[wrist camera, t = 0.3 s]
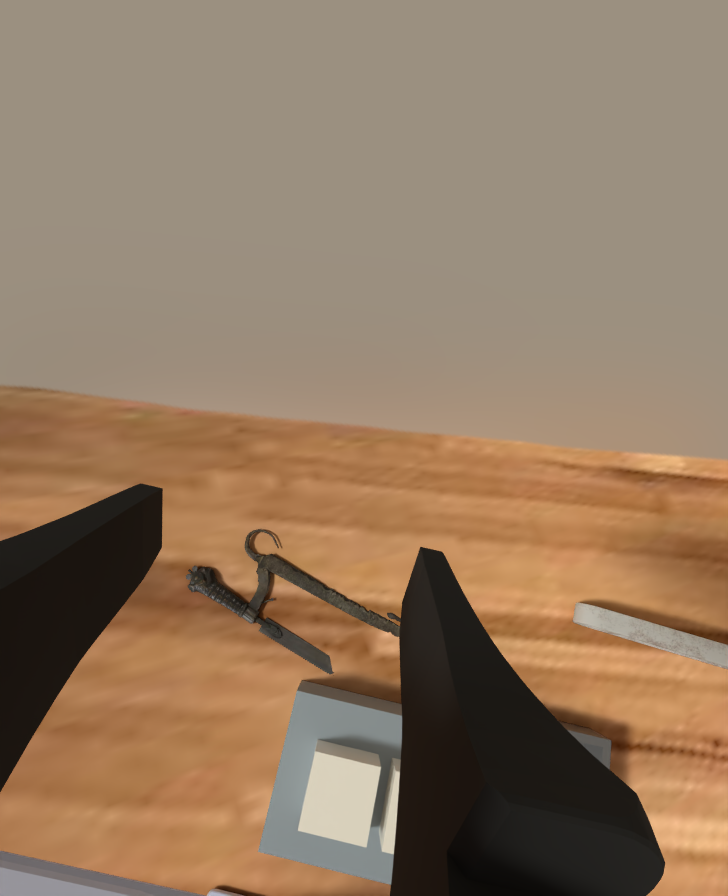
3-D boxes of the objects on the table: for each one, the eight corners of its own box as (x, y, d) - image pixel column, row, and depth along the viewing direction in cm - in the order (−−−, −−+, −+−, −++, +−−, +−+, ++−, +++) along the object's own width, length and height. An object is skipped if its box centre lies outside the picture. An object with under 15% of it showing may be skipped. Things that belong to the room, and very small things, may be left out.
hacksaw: (182, 583, 40) (176, 583, 38) (249, 484, 43) (246, 480, 41) (426, 737, 37) (430, 743, 36) (480, 620, 40) (485, 621, 39)
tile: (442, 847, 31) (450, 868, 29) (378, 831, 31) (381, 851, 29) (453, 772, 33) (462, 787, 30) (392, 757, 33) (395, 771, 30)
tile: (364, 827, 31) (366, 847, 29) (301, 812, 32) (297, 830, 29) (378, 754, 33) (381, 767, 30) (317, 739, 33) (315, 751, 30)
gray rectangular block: (448, 867, 34) (461, 902, 30) (267, 822, 35) (258, 851, 31) (468, 720, 37) (482, 735, 33) (301, 680, 38) (297, 690, 34)
